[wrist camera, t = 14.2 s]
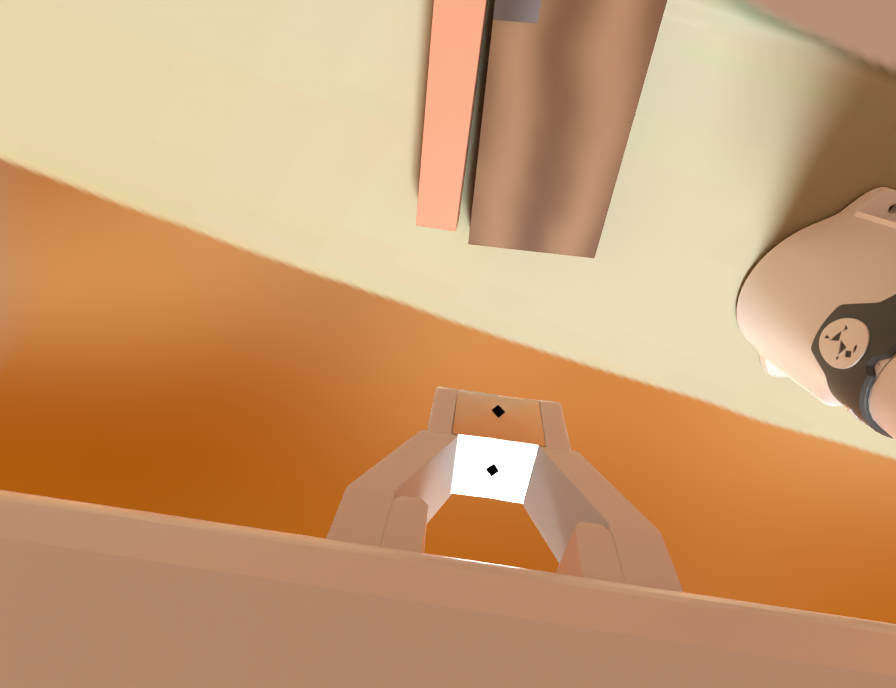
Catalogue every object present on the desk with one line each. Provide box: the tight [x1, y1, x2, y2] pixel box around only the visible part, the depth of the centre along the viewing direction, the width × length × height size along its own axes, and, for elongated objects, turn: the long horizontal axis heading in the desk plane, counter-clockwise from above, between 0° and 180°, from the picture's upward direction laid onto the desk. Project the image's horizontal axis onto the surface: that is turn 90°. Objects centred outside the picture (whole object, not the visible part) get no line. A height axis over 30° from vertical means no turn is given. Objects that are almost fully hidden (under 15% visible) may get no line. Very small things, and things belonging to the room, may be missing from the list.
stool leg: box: [416, 0, 488, 231], centre depth 32 cm, size 18×4×4 cm, turn 173°
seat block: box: [468, 0, 667, 258], centre depth 31 cm, size 11×20×4 cm, turn 175°
